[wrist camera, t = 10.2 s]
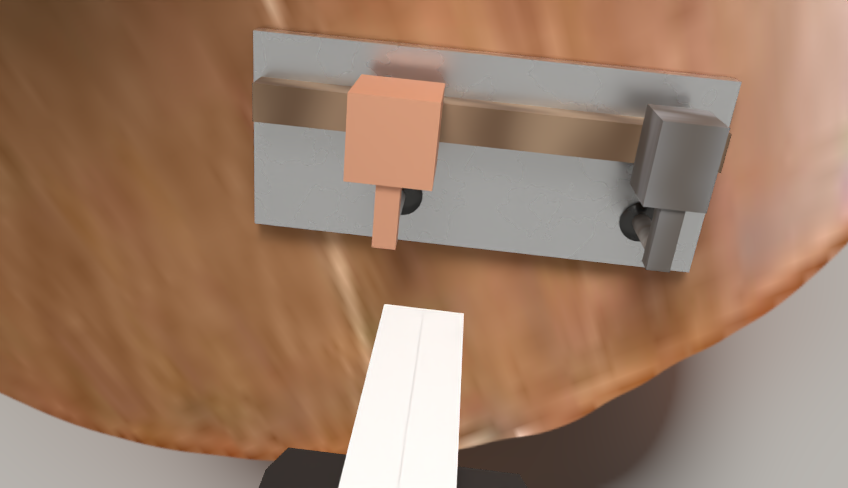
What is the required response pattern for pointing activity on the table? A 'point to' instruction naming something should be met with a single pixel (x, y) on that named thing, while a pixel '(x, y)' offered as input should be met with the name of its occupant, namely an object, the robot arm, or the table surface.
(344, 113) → the rail and fixed leg
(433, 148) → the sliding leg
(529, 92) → the bolt plate
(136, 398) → the table surface
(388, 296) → the table surface
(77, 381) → the table surface
